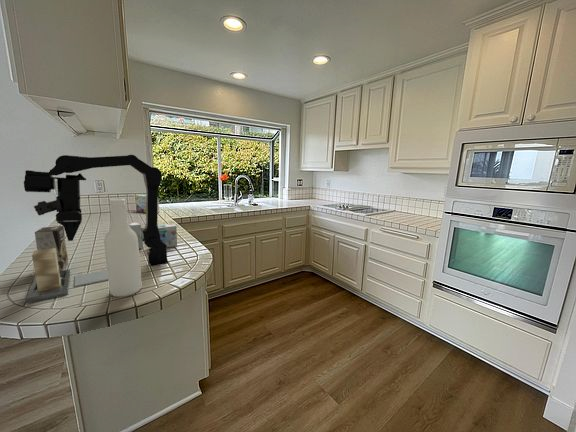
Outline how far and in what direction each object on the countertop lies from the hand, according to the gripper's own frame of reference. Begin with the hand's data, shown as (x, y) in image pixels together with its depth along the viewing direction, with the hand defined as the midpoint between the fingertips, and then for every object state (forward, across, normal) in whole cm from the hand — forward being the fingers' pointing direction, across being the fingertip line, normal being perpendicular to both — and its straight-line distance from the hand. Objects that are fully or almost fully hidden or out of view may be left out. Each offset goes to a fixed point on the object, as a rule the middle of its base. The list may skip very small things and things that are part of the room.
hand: (70, 238), depth 86 cm
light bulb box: (+12, -23, +36) cm, 44 cm away
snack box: (+6, -135, +49) cm, 144 cm away
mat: (+15, +3, +6) cm, 16 cm away
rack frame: (+15, +3, -5) cm, 17 cm away
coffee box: (+15, -16, -5) cm, 22 cm away
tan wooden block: (+16, +5, -5) cm, 17 cm away
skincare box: (+12, -28, +24) cm, 39 cm away
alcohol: (+15, +21, +14) cm, 29 cm away
